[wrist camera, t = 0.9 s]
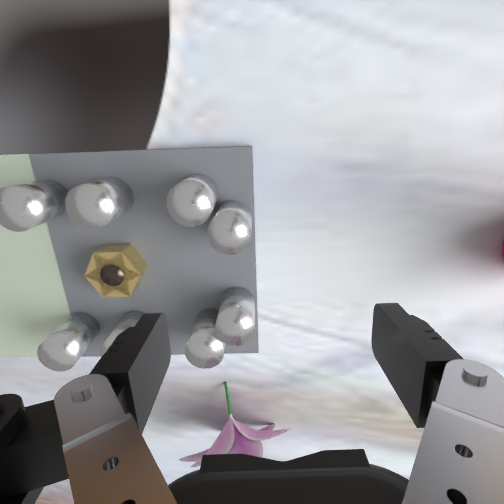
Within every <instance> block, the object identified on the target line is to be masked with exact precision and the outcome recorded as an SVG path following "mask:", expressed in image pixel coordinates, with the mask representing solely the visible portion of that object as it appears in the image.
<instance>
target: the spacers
mask: <svg viewBox="0 0 504 504" xmlns="http://www.w3.org/2000/svg"><path fill="white" fill-rule="evenodd" d="M218 199H219V190H218V187H217V185H216V183H215V182H214V181H213V179H211V178H210V177H208V176H206V175H204V174H194V175H191V176H189V177H187V178H186V179H184V180H183V181H181V182H179V183H178V184H176V185H175V186H174V187H173V188H172V189H171V190H170V191H169V193H168V195H167V199H166V206H167V210H168V212H169V214H170V216H171V217H172V218H173V220H175V221H176V222H177V223H179V224H180V225H183V226H187V227H195V226H199V225H201V224H203V223H204V222H205V221H206V220H207V219H208V218H209V216H210V214H211V213H212V211H213V209H214V207H215V205H216V204H217V202H218ZM133 202H134V195H133V192H132V189H131V188H130V186H129V185H128V184H127V183H126V182H125V181H124V180H122V179H120V178H117V177H106V178H102V179H99V180H96V181H92V182H89V183H85V184H82V185H78V186H76V187H74V188H72V189H71V190H70V191H69V192H68V191H67V190H66V188H65V187H64V186H63V185H62V184H60V183H59V182H57V181H55V180H52V179H41V180H37V181H32V182H27V183H22V184H18V185H13V186H8V187H4V188H0V225H2V226H3V227H5V228H6V229H8V230H11V231H15V232H23V231H27V230H29V229H31V228H34V227H36V226H38V225H41V224H43V223H46V222H48V221H50V220H53V219H55V218H57V217H60V216H62V215H64V214H65V213H66V212H67V213H68V215H69V217H70V218H71V220H72V221H73V222H74V223H75V224H77V225H78V226H80V227H82V228H85V229H89V230H96V229H99V228H102V227H103V226H105V225H107V224H108V223H110V222H112V221H113V220H115V219H117V218H118V217H120V216H122V215H123V214H125V213H126V212H128V211H129V210H130V209H131V207H132V205H133ZM251 235H252V214H251V211H250V210H249V208H248V207H247V206H246V205H245V204H244V203H242V202H240V201H237V200H229V201H226V202H224V203H222V204H221V205H220V206H219V207H218V208H217V210H216V212H215V214H214V216H213V218H212V219H211V221H210V223H209V226H208V229H207V237H208V241H209V243H210V244H211V246H212V247H213V248H214V249H215V250H216V251H218V252H219V253H222V254H225V255H234V254H238V253H240V252H242V251H243V250H245V249H246V248H247V246H248V245H249V243H250V241H251ZM144 313H145V312H142V311H138V310H133V311H129V312H127V313H126V314H125V315H124V316H123V317H122V319H121V320H120V321H119V323H118V324H117V325H116V327H115V328H114V330H113V331H112V332H111V334H110V335H109V336H108V338H107V339H106V341H105V342H104V343H103V345H102V346H101V349H100V355H101V358H102V356H103V355H104V354H105V352H107V349H108V348H109V347H110V345H112V343H113V341H114V340H115V339H116V337H117V336H118V335H119V334H120V333H121V332H123V331H124V330H126V329H127V328H128V327H135V325H136V324H137V322H138V321H139V319H140V318H141V316H142V315H143V314H144ZM99 331H100V326H99V323H98V321H97V320H96V318H95V317H93V316H92V315H91V314H89V313H86V312H75V313H72V314H71V315H70V316H69V317H68V318H67V319H66V320H65V321H64V322H63V323H62V324H60V325H59V326H58V327H57V328H56V329H55V330H54V331H53V332H52V333H51V334H50V335H49V336H48V337H47V338H46V339H45V340H44V341H43V342H42V343H41V344H40V345H39V347H38V349H37V356H38V358H39V360H40V362H41V363H42V364H43V365H44V366H46V367H47V368H49V369H51V370H54V371H66V370H69V369H71V368H72V367H73V366H74V365H75V363H76V362H77V361H78V359H79V358H80V357H81V356H82V354H83V353H84V352H85V351H86V349H87V348H88V347H89V345H90V344H91V343H92V342H93V340H94V339H95V338H96V336H97V335H98V334H99ZM254 332H255V299H254V296H253V294H252V293H251V292H250V291H249V290H248V289H246V288H243V287H232V288H229V289H228V290H226V291H225V292H224V293H223V295H222V297H221V301H220V306H219V310H216V309H205V310H202V311H200V312H199V313H198V314H197V316H196V318H195V320H194V323H193V327H192V330H191V333H190V336H189V339H188V342H187V345H186V348H185V355H186V358H187V359H188V361H189V362H190V363H191V364H193V365H194V366H196V367H199V368H212V367H214V366H216V365H218V364H219V363H220V362H221V360H222V359H223V355H224V348H225V344H228V345H232V346H239V345H243V344H245V343H247V342H249V341H250V340H251V339H252V337H253V335H254Z"/></svg>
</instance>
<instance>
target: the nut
mask: <svg viewBox="0 0 504 504" xmlns="http://www.w3.org/2000/svg"><path fill="white" fill-rule="evenodd" d="M147 266H148V264H147V263H146V261H145V260H144V259H143V258H142V256H141V255H140V254H139V253H138V251H137V250H136V249H135V247H134V246H133V245H132V244H104V245H103V246H102V247H100V248H99V249H98V250H96V251H95V252H94V253H93V255H92V257H91V260H90V262H89V265H88V268H87V270H86V273H85V275H84V276H85V277H86V279H87V280H88V281H89V282H90V283H91V284H92V285H93V287H94V288H95V289H96V290H97V291H98V292H99V293H100V295H101V296H102V297H130V296H131V295H132V294H133V292H134V291H135V290H136V288H137V287H138V286H139V284H140V282H141V279H142V277H143V275H144V273H145V271H146V268H147Z"/></svg>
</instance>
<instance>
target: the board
mask: <svg viewBox="0 0 504 504" xmlns="http://www.w3.org/2000/svg"><path fill="white" fill-rule="evenodd" d="M194 174H204V175H206V176H208V177H210V178H211V179H213V181H214V182H215V183H216V185H217V187H218V190H219V199H218V202H217V204H216V205H215V207H214V209H213V211H212V213H211V214H210V216H209V218H208V219H207V220H206V221H205V222H204V223H203V224H201V225H199V226H195V227H187V226H183V225H180V224H179V223H177V222H176V221H175V220H173V218H172V217H171V216H170V214H169V212H168V210H167V206H166V199H167V195H168V193H169V191H170V190H171V189H172V188H173V187H174V186H175V185H176V184H178V183H179V182H181V181H183V180H184V179H186V178H187V177H189V176H191V175H194ZM106 177H117V178H120V179H122V180H124V181H125V182H126V183H127V184H128V185H129V186H130V188H131V189H132V192H133V195H134V202H133V205H132V207H131V209H130V210H129V211H128V212H126V213H125V214H123V215H122V216H120V217H118V218H117V219H115V220H113V221H112V222H110V223H108V224H107V225H105V226H103V227H102V228H99V229H96V230H89V229H85V228H82V227H80V226H78V225H77V224H75V223H74V222H73V221H72V220H71V218H70V217H69V215H68V213H67V212H66V213H65V214H64V215H62V216H60V217H57V218H55V219H53V220H50V221H48V222H46V223H43V224H41V225H38V226H36V227H34V228H31V229H29V230H27V231H23V232H15V231H11V230H8V229H6V228H5V227H3V226H2V225H0V358H9V357H38V356H37V349H38V347H39V345H40V344H41V343H42V342H43V341H44V340H45V339H46V338H47V337H48V336H49V335H50V334H51V333H52V332H53V331H54V330H55V329H56V328H57V327H58V326H59V325H60V324H62V323H63V322H64V321H65V320H66V319H67V318H68V317H69V316H70V315H71V314H72V313H75V312H86V313H89V314H91V315H92V316H93V317H95V318H96V320H97V321H98V323H99V326H100V331H99V334H98V335H97V336H96V338H95V339H94V340H93V342H92V343H91V344H90V345H89V347H88V348H87V349H86V351H85V352H84V353H83V354H82V357H83V356H101V355H100V349H101V346H102V345H103V343H104V342H105V341H106V339H107V338H108V336H109V335H110V334H111V332H112V331H113V330H114V328H115V327H116V325H117V324H118V323H119V321H120V320H121V319H122V317H123V316H124V315H125V314H126V313H127V312H129V311H133V310H138V311H142V312H145V313H164V314H165V316H166V321H167V327H168V334H169V341H170V348H171V355H177V354H185V348H186V345H187V342H188V339H189V336H190V333H191V330H192V327H193V323H194V320H195V318H196V316H197V314H198V313H199V312H200V311H202V310H205V309H216V310H219V306H220V301H221V297H222V295H223V293H224V292H225V291H226V290H228V289H229V288H232V287H243V288H246V289H248V290H249V291H250V292H251V293H252V294H253V296H254V299H255V332H254V335H253V337H252V339H251V340H250V341H249V342H247V343H245V344H243V345H239V346H232V345H228V344H225V348H224V354H225V353H258V322H257V290H256V257H255V225H254V192H253V160H252V146H241V147H212V148H183V149H153V150H124V151H94V152H65V153H35V154H6V155H0V188H4V187H8V186H13V185H18V184H22V183H27V182H32V181H37V180H41V179H52V180H55V181H57V182H59V183H60V184H62V185H63V186H64V187H65V188H66V190H67V191H68V192H69V191H70V190H71V189H72V188H74V187H76V186H78V185H82V184H85V183H89V182H92V181H96V180H99V179H102V178H106ZM229 200H237V201H240V202H242V203H244V204H245V205H246V206H247V207H248V208H249V210H250V211H251V214H252V235H251V241H250V243H249V245H248V246H247V248H246V249H245V250H243V251H242V252H240V253H238V254H234V255H225V254H222V253H219V252H218V251H216V250H215V249H214V248H213V247H212V246H211V244H210V243H209V241H208V237H207V229H208V226H209V223H210V221H211V219H212V218H213V216H214V214H215V212H216V210H217V208H218V207H219V206H220V205H221V204H222V203H224V202H226V201H229ZM104 244H132V245H133V246H134V247H135V249H136V250H137V251H138V253H139V254H140V255H141V256H142V258H143V259H144V260H145V261H146V263H147V264H148V266H147V268H146V271H145V273H144V275H143V277H142V279H141V282H140V284H139V286H138V287H137V288H136V290H135V291H134V292H133V294H132V295H131V296H130V297H102V296H101V295H100V293H99V292H98V291H97V290H96V289H95V288H94V287H93V285H92V284H91V283H90V282H89V281H88V280H87V279H86V277H85V276H84V275H85V273H86V270H87V268H88V265H89V262H90V260H91V257H92V255H93V253H94V252H95V251H96V250H98V249H99V248H100V247H102V246H103V245H104Z"/></svg>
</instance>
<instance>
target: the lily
mask: <svg viewBox="0 0 504 504" xmlns="http://www.w3.org/2000/svg"><path fill="white" fill-rule="evenodd" d="M224 385H225V391H226V397H227V403H228V410H229V420H228V422H227V423H226V425H225V427H224V428H223V430H222V431H221V433H220V434H219V436H218V437H217V439H216V441H215V442H214V444H213V445H212V447H211V448H209V449H207V450H205V451H202V452H200V453H197V454H193V455H190V456H187V457H183V458H181V459H179V460H180V461H187V462H193V461H197V462H196V463H195V464H194V465H192V466H191V467H196V466H200V465H201V461H202V455H211V454H239V453H242V454H247V455H252V456H257V457H261V458H262V456H263V447H262V443H261V442H260V440H265V439H269V438H272V437H275V436H277V435H280V434H282V433H284V432H286V431H288V430H289V429H290V428H289V429H283V430H275V431H273V429H274V427H275V424H271V425H269V426H267V427H264V428H262V429H260V430H255V429H253V428H250V427H248V426H246V425H244V424H242V423H240V422H238V421H236V420H234V419H233V417H232V412H231V406H230V400H229V394H228V388H227V382H224Z"/></svg>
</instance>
